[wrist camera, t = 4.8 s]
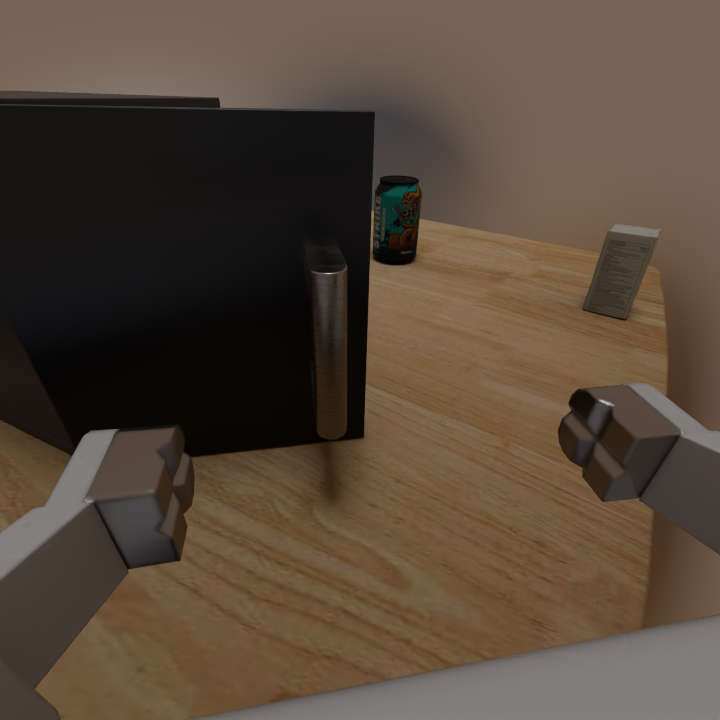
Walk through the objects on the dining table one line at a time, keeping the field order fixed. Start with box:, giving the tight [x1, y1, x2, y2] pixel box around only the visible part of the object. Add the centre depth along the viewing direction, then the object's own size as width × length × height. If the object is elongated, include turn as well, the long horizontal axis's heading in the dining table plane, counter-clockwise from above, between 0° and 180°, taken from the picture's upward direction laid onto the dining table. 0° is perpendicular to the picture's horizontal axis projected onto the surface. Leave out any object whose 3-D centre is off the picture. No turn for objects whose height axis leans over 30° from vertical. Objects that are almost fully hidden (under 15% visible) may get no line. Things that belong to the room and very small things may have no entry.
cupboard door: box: [0, 104, 375, 456], centre depth 22 cm, size 7×20×22 cm, turn 100°
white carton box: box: [583, 224, 661, 319], centre depth 49 cm, size 5×4×10 cm
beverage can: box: [373, 176, 422, 264], centre depth 63 cm, size 7×7×12 cm
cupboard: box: [0, 91, 220, 455], centre depth 35 cm, size 26×20×22 cm
